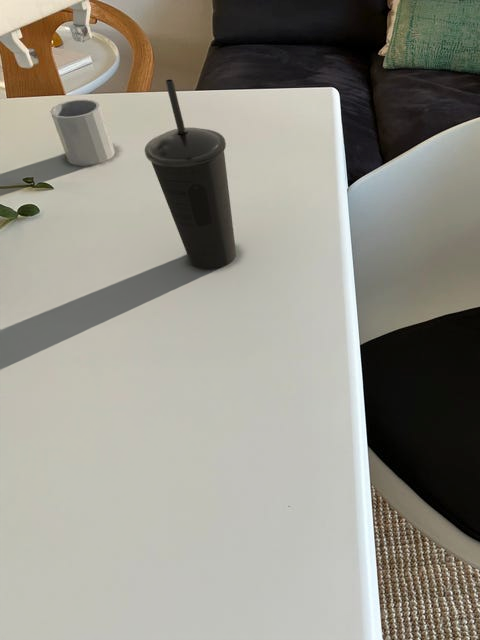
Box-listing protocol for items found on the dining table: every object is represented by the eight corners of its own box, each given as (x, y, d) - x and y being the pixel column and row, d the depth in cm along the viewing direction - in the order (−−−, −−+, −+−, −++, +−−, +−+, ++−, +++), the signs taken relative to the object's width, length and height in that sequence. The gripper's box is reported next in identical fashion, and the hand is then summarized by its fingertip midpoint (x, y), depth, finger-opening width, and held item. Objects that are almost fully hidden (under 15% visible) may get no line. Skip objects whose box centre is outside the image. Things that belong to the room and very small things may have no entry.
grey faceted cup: (63, 170, 101) (44, 118, 97) (75, 150, 106) (57, 100, 101) (110, 168, 102) (93, 116, 97) (119, 148, 106) (104, 98, 102)
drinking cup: (264, 252, 87) (228, 73, 74) (219, 287, 82) (172, 102, 69) (209, 236, 89) (165, 60, 76) (162, 269, 84) (107, 87, 71)
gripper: (55, -96, 94) (92, 23, 103) (-85, -56, 79) (-28, 79, 88) (99, -93, 92) (132, 28, 101) (-35, -51, 78) (18, 85, 87)
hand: (57, 52), depth 95 cm, fingers open, 8 cm apart
